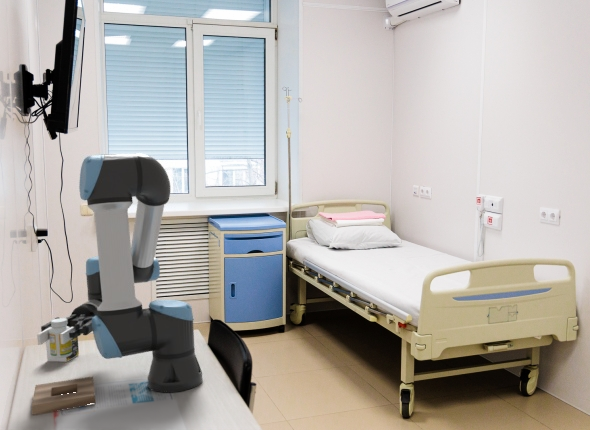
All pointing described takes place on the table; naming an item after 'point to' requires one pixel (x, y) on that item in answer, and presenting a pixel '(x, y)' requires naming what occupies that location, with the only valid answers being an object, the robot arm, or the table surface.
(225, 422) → the table surface
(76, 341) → the medicine bottle
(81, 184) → the robot arm
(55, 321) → the supplement bottle
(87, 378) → the socket block
